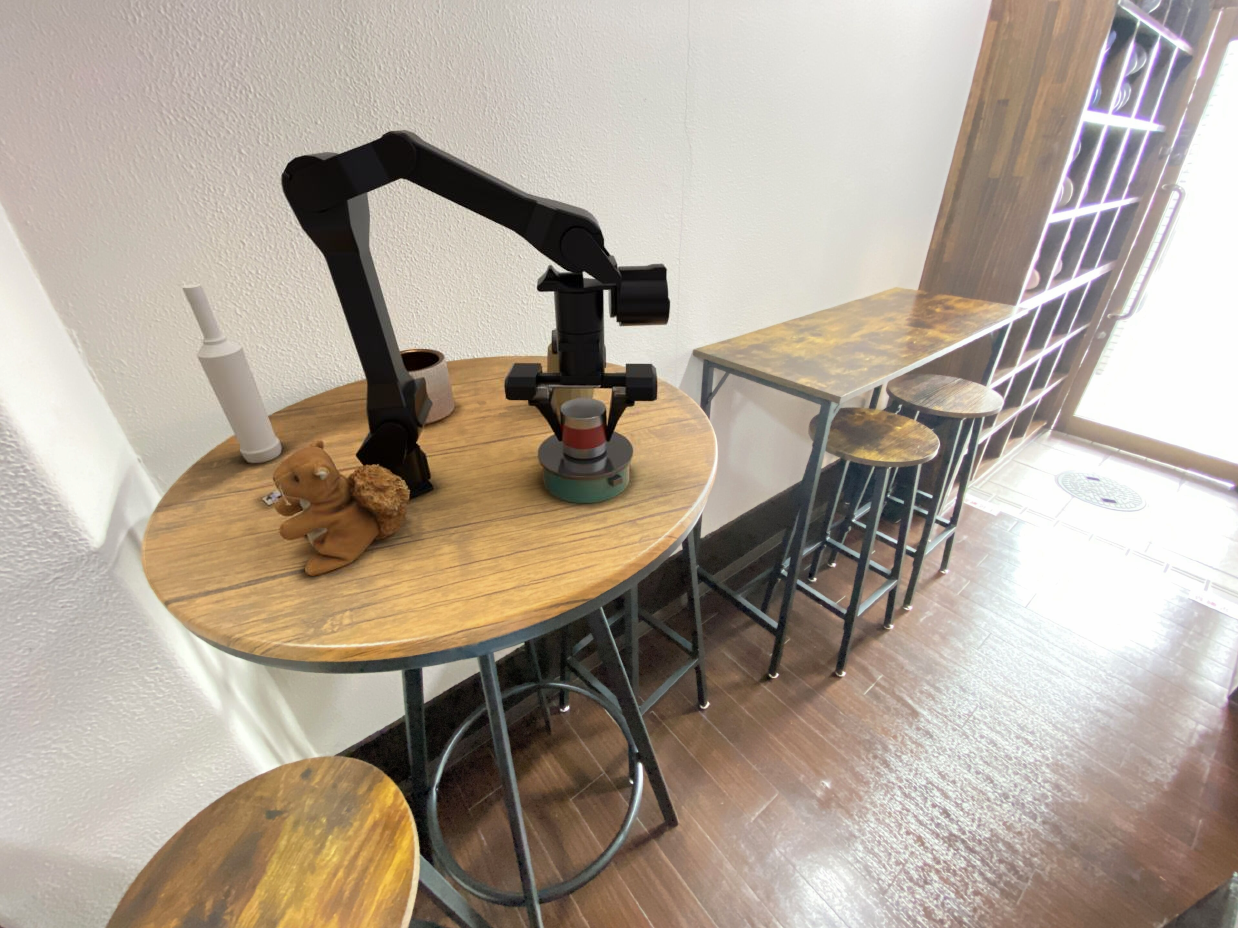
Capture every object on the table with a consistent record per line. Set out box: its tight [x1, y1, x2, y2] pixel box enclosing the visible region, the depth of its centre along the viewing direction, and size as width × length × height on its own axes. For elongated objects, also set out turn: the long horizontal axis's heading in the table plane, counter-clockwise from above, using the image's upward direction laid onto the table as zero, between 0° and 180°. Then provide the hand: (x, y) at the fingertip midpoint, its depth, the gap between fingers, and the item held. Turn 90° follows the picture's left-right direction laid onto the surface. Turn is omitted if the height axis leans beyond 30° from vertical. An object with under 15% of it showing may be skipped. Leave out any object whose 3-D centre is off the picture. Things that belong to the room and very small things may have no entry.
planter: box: [399, 348, 455, 426], centre depth 89 cm, size 11×11×10 cm
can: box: [560, 397, 608, 459], centre depth 71 cm, size 6×6×6 cm
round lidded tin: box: [537, 430, 634, 504], centre depth 74 cm, size 13×14×5 cm
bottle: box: [181, 283, 283, 464], centre depth 74 cm, size 5×5×25 cm
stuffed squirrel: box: [272, 438, 410, 577], centre depth 61 cm, size 10×14×13 cm
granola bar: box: [261, 489, 282, 506], centre depth 72 cm, size 7×2×1 cm, turn 140°
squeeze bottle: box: [546, 328, 595, 418], centre depth 87 cm, size 8×8×18 cm
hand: (584, 439), depth 72 cm, fingers closed on can, 6 cm apart
